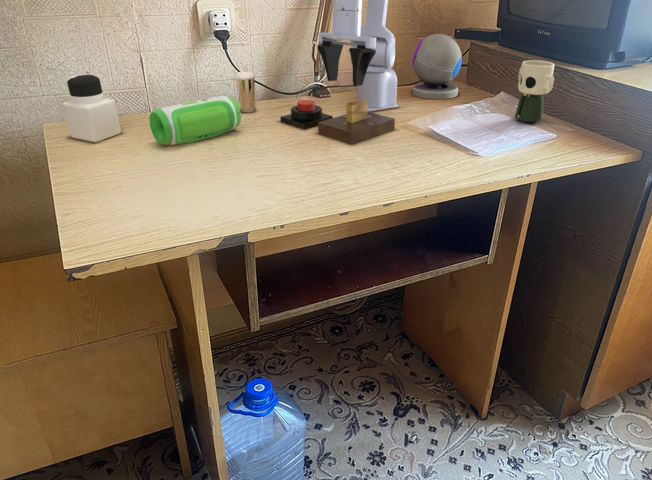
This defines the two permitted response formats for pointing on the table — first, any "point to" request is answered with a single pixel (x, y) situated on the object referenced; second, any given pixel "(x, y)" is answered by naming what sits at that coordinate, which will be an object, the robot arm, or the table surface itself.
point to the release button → (306, 105)
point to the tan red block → (357, 111)
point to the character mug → (533, 88)
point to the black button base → (305, 117)
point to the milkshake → (246, 90)
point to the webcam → (437, 67)
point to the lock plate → (356, 127)
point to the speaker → (194, 120)
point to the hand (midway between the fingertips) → (344, 83)
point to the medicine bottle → (90, 110)
